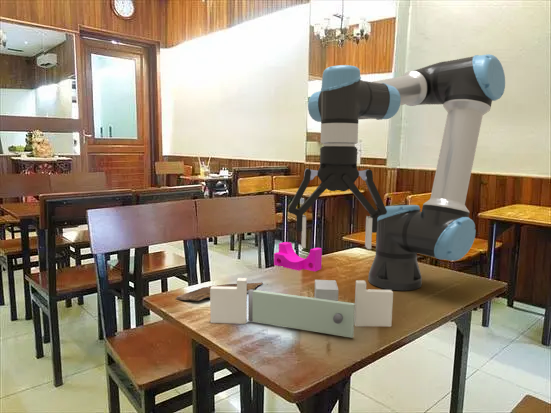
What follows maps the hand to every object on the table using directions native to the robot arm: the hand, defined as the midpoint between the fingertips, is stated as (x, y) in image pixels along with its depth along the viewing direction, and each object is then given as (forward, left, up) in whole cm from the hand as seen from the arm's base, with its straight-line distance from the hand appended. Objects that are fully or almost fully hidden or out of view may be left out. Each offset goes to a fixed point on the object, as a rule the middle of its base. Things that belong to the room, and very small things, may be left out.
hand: (335, 247), depth 88 cm
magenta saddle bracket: (+6, -49, -19) cm, 53 cm away
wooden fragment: (+25, -20, -20) cm, 38 cm away
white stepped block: (+1, -6, -19) cm, 20 cm away
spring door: (+18, -4, -19) cm, 26 cm away
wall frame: (+18, -4, -19) cm, 26 cm away
